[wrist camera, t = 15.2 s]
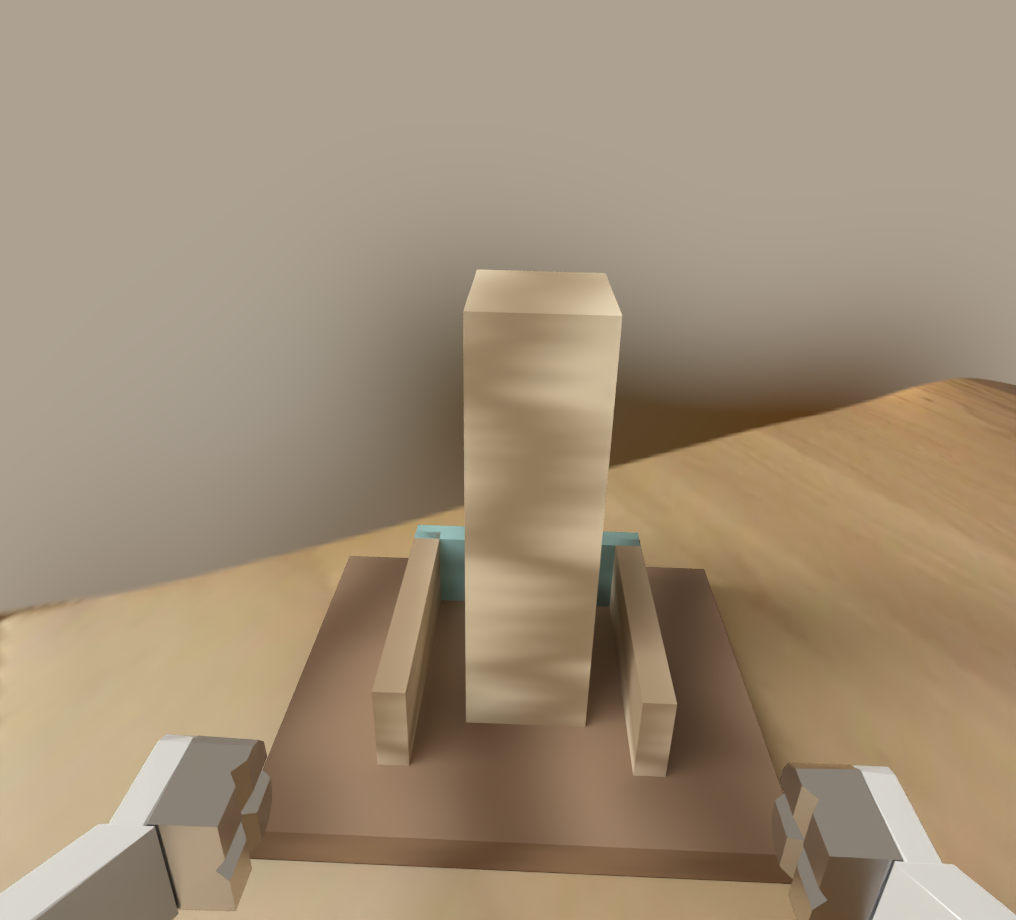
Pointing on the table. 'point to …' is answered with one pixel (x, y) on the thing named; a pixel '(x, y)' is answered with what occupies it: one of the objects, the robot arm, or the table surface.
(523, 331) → the tan tall rectangular block
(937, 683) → the table surface
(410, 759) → the dock
